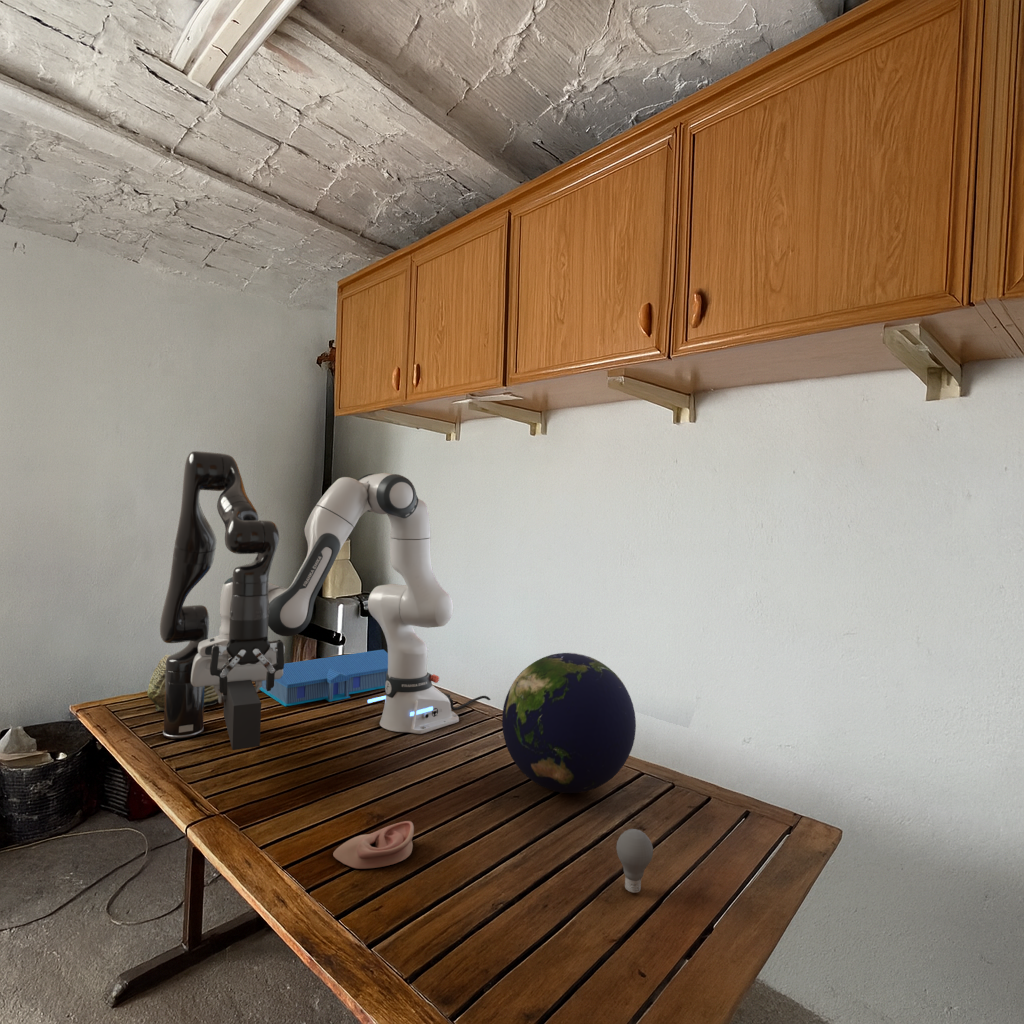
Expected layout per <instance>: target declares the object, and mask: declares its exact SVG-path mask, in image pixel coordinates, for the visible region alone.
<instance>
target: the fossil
mask: <svg viewBox="0 0 1024 1024" xmlns="http://www.w3.org/2000/svg"><path fill="white" fill-rule="evenodd" d="M171 655H172V654H165V655H164V656H163V657H162V658H161V659H160V660H159V662H158V663H157V666H156V667H155V669H154V670H153V672H152V675H151V677H150V680H149V684H148V688H147V697H148V699H149V700H150V701H152V703H153V704H154V706H155V711H158V712H159V711H162V712H163V711H164V705H165V674H166V660H167V658H168V657H169V656H171ZM218 699H219V696H218V695H217V693H216V692H215V690H214V685H212V686H205V693H204V707H207V706H213V705H215V704H217V703H218V702H219V700H218Z"/></svg>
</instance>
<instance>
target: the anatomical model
mask: <svg viewBox="0 0 1024 1024" xmlns="http://www.w3.org/2000/svg"><path fill="white" fill-rule="evenodd" d="M414 833H415V826H414V823H413V822H412V821H411V820H404V821H400V822H397V823H393V824H391V825H388V826H385V827H383V828H380V829H377V830H376V831H373V832H371V833H368V834H367V833H366V834H360V835H357V836H354V837H352V838H350V839H348V840H346V841H345V842H343V843H342V844H341V845H339V846H338V847H337V848H335V850H334V851H333V852H332V853H333V854H332V856H333V857H334V858H335V860H337V861H338V862H340V863H342V864H343V865H346V866H347V867H350V868H352V869H357V870H367V869H375V868H382V867H387V866H390V865H394V864H398V863H400V862H402V861H404V860H406V859H407V858H409V857H410V856H411V854H412V851H413V847H414V845H413V841H412V840H413V837H414Z"/></svg>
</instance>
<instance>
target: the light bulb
mask: <svg viewBox="0 0 1024 1024" xmlns="http://www.w3.org/2000/svg"><path fill="white" fill-rule="evenodd" d="M615 849H616V854H617V857H618V859H619V861H620V863H621V865H622V867H623V873H624V874H623V875H624V876H625V878H624V888H625V890H627V891H628V892H630V893H634V894H635V893H639V892H640V891H641V889H642V887H641V886H642V879H643V877H644V875H645V871H646V868H647V867H648V866H649V864H650V863H651V861H652V859H653V855H654V847H653V843H652V841H651V838H649V836H648V835H647V834H646V833H645V832H643V831H642V830H641V829H636V828H629V829H627V830H625V831H623V832H622V833H621V834H620V835H619V837H618V839H617V841H616V847H615Z"/></svg>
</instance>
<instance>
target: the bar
mask: <svg viewBox="0 0 1024 1024" xmlns="http://www.w3.org/2000/svg"><path fill="white" fill-rule="evenodd" d="M225 700H226V702H225V703H223V718H224V723H225V726H226V729H227V734H228V738H229V741H230V746H231V750H232V751H237V750H244V749H249V748H250V749H251V748H257V747H260V746H261V725H262V724H261V723H262V720H261V719H262V701H261V700H260V696H259V695H258V692H256V690H255V684H254V683H253V682H252V681H251V680H243V681H233V682H227V695H226V699H225Z"/></svg>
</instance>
